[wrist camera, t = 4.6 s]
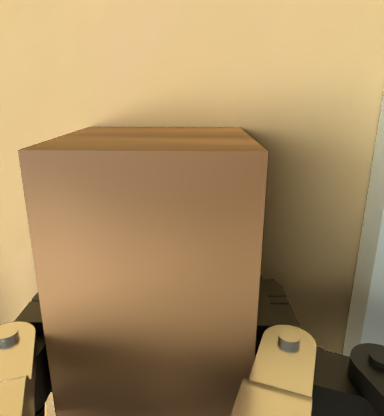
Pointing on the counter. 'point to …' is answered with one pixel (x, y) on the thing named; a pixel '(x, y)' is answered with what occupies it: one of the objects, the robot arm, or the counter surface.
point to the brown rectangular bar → (147, 266)
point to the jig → (370, 260)
